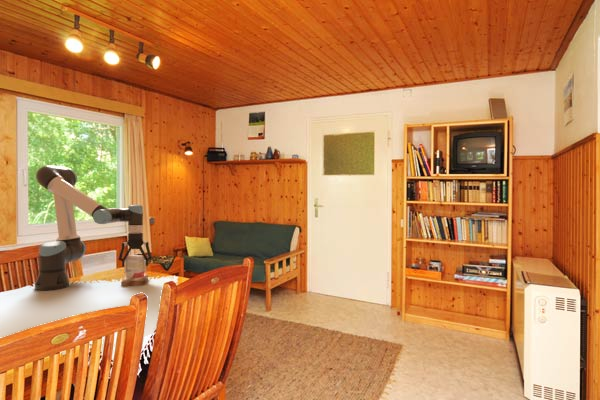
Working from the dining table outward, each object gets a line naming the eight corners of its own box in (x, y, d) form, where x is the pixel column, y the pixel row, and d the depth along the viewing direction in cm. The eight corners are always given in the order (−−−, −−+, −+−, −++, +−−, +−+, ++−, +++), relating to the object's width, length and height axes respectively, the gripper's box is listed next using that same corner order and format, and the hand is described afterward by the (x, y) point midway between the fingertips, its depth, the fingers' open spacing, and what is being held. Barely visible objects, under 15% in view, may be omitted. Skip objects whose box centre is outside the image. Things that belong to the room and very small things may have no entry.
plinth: (121, 286, 196) (121, 279, 196) (125, 280, 209) (125, 274, 209) (145, 285, 200) (145, 278, 199) (147, 279, 213) (147, 273, 213)
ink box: (144, 275, 206) (145, 255, 205) (139, 277, 201) (139, 256, 201) (131, 274, 208) (131, 254, 207) (125, 276, 203) (125, 255, 203)
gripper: (112, 233, 197) (112, 274, 197) (156, 232, 204) (155, 272, 204) (114, 232, 204) (114, 271, 204) (157, 231, 211) (156, 269, 211)
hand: (135, 272), depth 204 cm, fingers closed on ink box, 9 cm apart
